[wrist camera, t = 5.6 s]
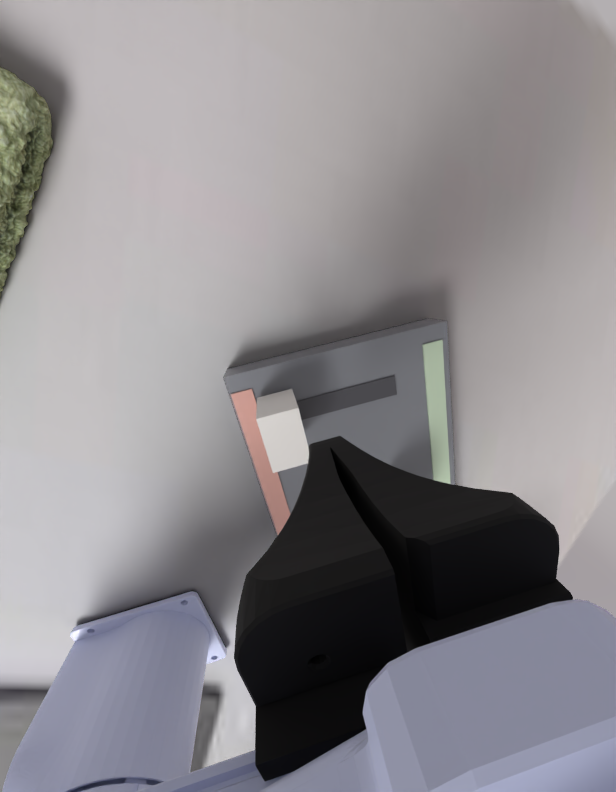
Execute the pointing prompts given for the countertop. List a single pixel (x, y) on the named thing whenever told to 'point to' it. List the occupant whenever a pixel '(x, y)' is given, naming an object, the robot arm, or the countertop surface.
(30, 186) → the washcloth
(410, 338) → the switch panel
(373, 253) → the countertop surface
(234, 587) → the countertop surface
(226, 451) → the countertop surface
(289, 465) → the handle
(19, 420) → the countertop surface
